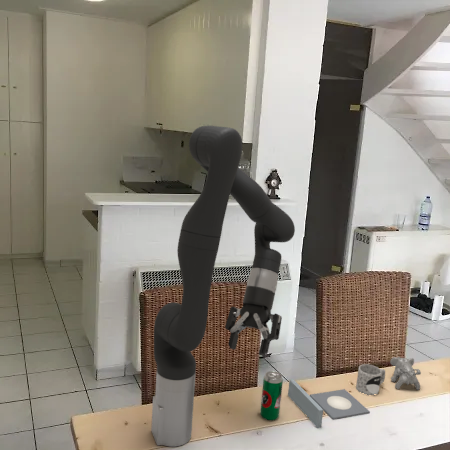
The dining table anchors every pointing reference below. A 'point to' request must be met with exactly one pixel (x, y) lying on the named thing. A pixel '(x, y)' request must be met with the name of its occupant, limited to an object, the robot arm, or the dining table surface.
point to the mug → (369, 379)
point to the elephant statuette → (405, 372)
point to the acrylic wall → (305, 403)
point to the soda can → (271, 395)
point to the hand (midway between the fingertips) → (246, 352)
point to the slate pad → (339, 404)
